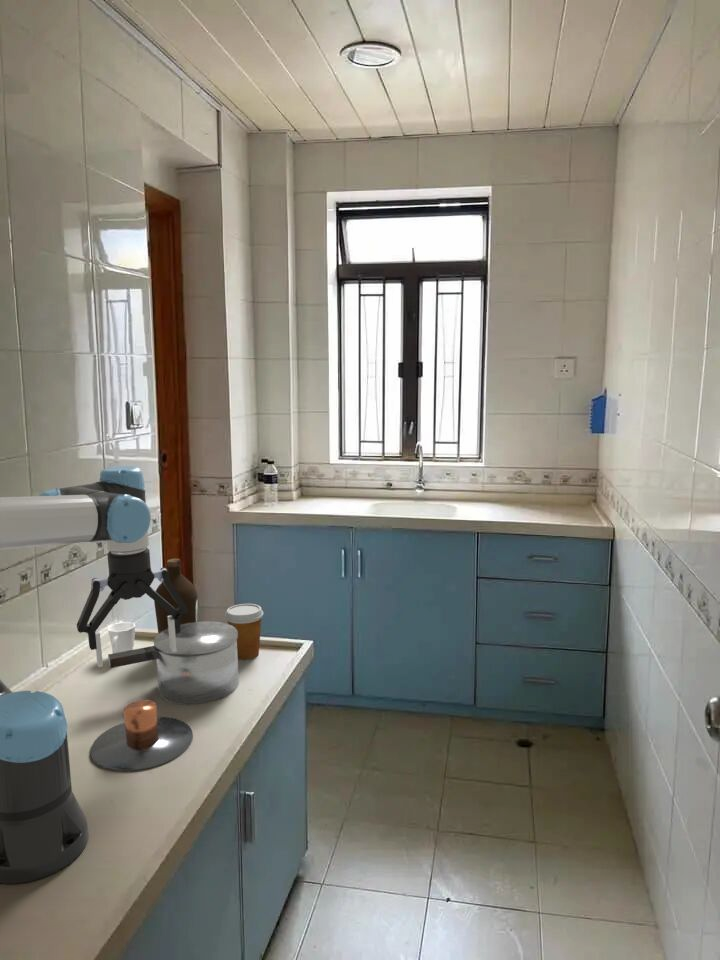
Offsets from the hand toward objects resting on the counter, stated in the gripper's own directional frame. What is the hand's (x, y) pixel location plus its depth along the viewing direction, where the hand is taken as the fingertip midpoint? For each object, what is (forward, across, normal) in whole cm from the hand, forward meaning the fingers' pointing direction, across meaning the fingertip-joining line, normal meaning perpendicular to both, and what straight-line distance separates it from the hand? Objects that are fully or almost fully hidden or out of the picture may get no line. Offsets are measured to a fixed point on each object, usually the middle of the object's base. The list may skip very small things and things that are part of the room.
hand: (137, 656), depth 136 cm
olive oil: (+18, -16, -40) cm, 47 cm away
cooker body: (+18, -11, -20) cm, 29 cm away
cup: (+18, -2, -45) cm, 48 cm away
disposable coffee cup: (+18, -31, -32) cm, 48 cm away
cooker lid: (+18, 0, 0) cm, 18 cm away
